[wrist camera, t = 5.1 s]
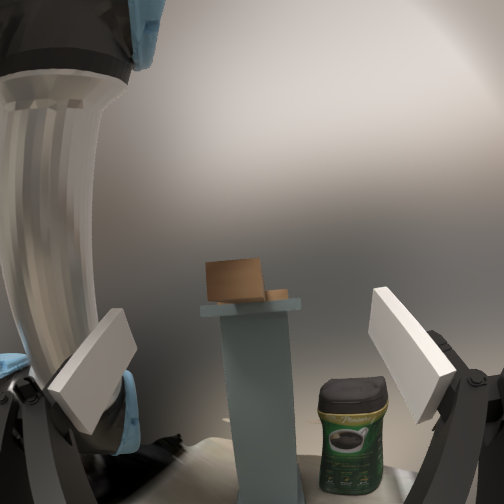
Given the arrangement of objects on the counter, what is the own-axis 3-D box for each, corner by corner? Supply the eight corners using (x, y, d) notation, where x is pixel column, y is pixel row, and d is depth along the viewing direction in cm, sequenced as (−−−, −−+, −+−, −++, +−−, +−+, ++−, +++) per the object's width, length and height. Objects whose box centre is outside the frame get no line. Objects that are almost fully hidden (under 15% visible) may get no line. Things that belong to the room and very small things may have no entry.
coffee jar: (385, 469, 28) (392, 368, 31) (375, 498, 21) (386, 387, 25) (329, 467, 33) (328, 372, 37) (311, 493, 26) (309, 388, 30)
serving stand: (233, 535, 18) (200, 306, 24) (244, 475, 34) (226, 306, 40) (308, 531, 18) (300, 297, 24) (298, 471, 33) (287, 301, 39)
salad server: (164, 303, 14) (163, 266, 14) (231, 306, 40) (230, 292, 40) (309, 292, 13) (305, 253, 14) (283, 301, 39) (281, 288, 40)
